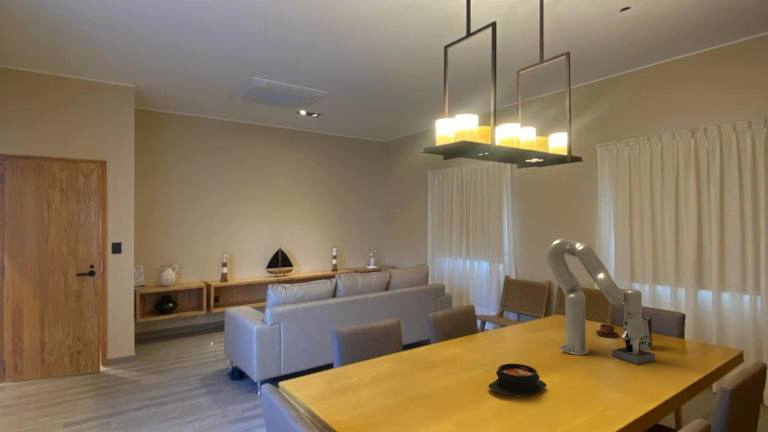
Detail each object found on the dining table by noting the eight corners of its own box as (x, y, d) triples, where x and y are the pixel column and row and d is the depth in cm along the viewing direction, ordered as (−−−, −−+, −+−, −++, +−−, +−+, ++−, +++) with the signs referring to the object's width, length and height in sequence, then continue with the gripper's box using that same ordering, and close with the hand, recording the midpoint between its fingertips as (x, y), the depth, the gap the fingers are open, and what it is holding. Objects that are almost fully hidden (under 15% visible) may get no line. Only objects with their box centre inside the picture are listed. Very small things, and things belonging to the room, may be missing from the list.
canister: (634, 356, 205) (634, 338, 205) (625, 353, 210) (625, 335, 210) (641, 355, 207) (641, 337, 207) (631, 352, 212) (631, 334, 212)
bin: (636, 364, 200) (636, 357, 200) (612, 356, 212) (612, 349, 212) (655, 361, 205) (655, 353, 205) (630, 353, 217) (629, 346, 217)
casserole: (523, 377, 185) (523, 358, 185) (557, 392, 168) (557, 371, 168) (478, 387, 173) (478, 367, 173) (510, 405, 157) (510, 382, 157)
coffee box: (651, 350, 221) (650, 320, 221) (636, 348, 225) (636, 318, 225) (652, 346, 228) (652, 317, 228) (638, 344, 232) (638, 315, 232)
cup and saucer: (621, 339, 243) (621, 328, 243) (599, 338, 245) (599, 327, 245) (614, 333, 255) (614, 323, 255) (593, 332, 257) (593, 322, 257)
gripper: (628, 317, 202) (628, 355, 202) (651, 314, 208) (651, 351, 208) (614, 314, 209) (614, 351, 208) (637, 311, 215) (637, 347, 215)
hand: (633, 350), depth 208 cm, fingers closed on canister, 4 cm apart
